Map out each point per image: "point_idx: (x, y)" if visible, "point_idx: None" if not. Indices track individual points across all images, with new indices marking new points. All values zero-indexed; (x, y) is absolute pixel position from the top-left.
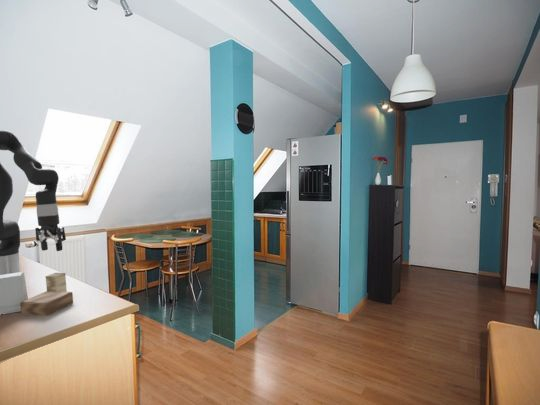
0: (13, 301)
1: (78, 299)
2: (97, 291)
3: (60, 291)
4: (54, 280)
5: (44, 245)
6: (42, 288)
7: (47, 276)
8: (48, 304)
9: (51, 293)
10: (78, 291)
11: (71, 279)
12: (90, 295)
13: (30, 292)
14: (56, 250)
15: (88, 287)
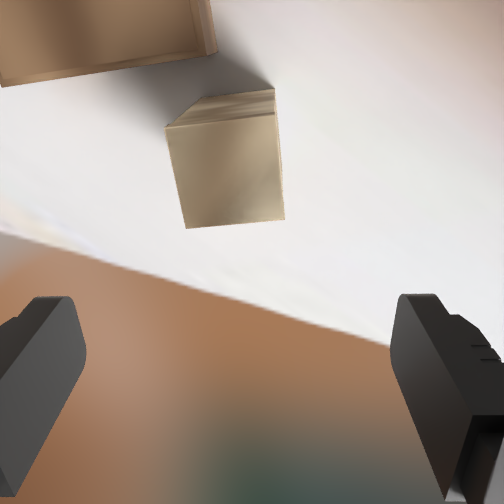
0: None
1: (65, 128)
2: (86, 245)
3: (83, 64)
4: (186, 120)
5: (426, 384)
6: (467, 205)
7: (252, 117)
8: None
9: (104, 8)
10: None
11: None
12: (63, 192)
13: (491, 134)
14: (62, 297)
15: (193, 277)
